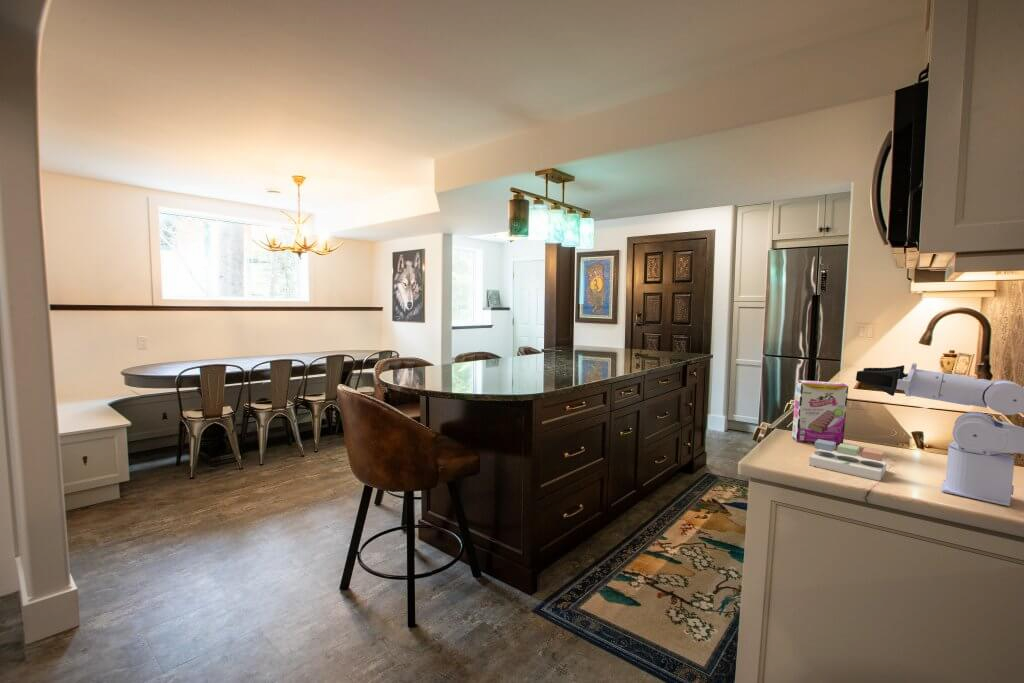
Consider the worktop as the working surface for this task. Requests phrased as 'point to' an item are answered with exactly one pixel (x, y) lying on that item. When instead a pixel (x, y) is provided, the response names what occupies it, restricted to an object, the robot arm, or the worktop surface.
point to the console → (848, 464)
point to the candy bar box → (819, 411)
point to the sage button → (848, 449)
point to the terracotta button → (873, 454)
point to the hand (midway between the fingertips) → (859, 374)
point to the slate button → (825, 445)
